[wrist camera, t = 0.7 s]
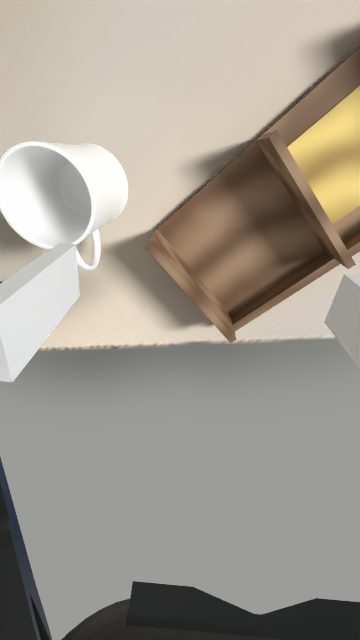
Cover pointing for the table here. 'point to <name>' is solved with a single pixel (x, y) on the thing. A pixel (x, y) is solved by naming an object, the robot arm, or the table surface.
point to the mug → (61, 193)
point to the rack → (273, 210)
